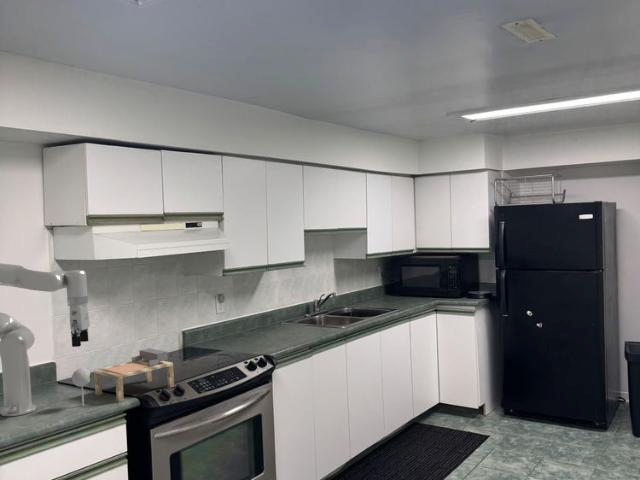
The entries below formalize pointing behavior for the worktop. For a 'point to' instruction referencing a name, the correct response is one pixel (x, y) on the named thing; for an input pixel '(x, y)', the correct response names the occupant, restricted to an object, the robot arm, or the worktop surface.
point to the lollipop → (81, 379)
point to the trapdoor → (144, 354)
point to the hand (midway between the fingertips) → (80, 343)
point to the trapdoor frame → (120, 377)
